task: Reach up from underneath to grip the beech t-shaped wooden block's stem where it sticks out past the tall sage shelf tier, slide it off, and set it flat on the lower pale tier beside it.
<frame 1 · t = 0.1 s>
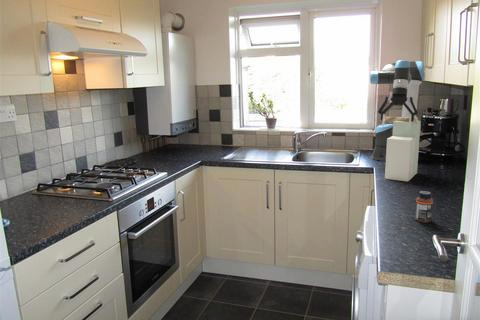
hand: (396, 126, 222), 28 cm above the worktop, tool tilted 20°, fingers open, 13 cm apart
supplement bottle: (423, 221, 158), on the worktop
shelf: (401, 175, 229), on the worktop
t-shaped wooden block: (407, 121, 227), point 30 cm above the worktop, touching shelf
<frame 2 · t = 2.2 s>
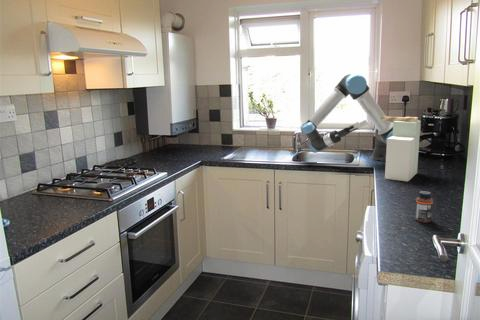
hand: (362, 122, 241), 28 cm above the worktop, tool pointing upward, fingers open, 13 cm apart
nothing on the worktop moved.
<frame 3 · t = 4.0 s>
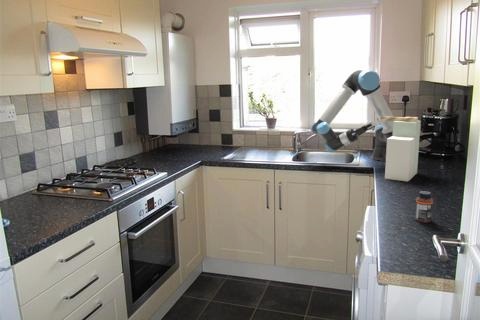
hand: (380, 120, 235), 30 cm above the worktop, tool pointing upward, fingers open, 13 cm apart
nothing on the worktop moved.
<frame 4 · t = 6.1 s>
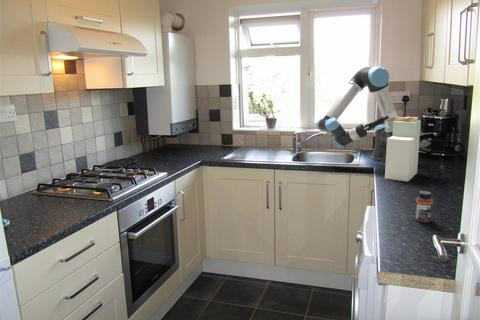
hand: (394, 114, 230), 34 cm above the worktop, tool pointing upward, fingers closed on t-shaped wooden block, 2 cm apart
t-shaped wooden block: (407, 121, 227), point 30 cm above the worktop, touching gripper, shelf
everything else where it was.
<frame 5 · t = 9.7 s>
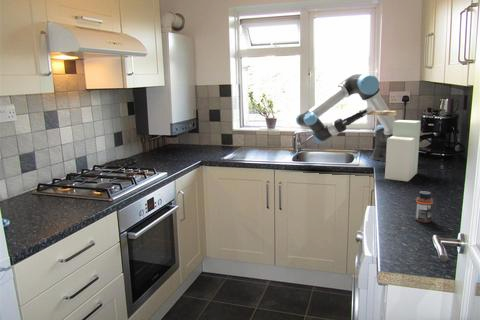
hand: (373, 107, 225), 38 cm above the worktop, tool pointing upward, fingers closed on t-shaped wooden block, 2 cm apart
t-shaped wooden block: (385, 115, 222), point 34 cm above the worktop, touching gripper
everything else where it was.
when the fingers open (27 cm above the worktop, at t = 13.3 s): t-shaped wooden block drops 2 cm, resting on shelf.
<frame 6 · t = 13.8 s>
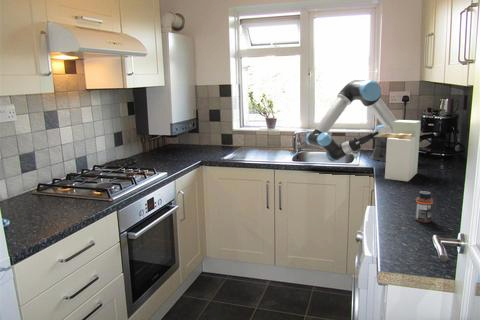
hand: (386, 128, 223), 27 cm above the worktop, tool pointing upward, fingers open, 10 cm apart
t-shaped wooden block: (401, 138, 220), point 22 cm above the worktop, touching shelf
everything else where it was.
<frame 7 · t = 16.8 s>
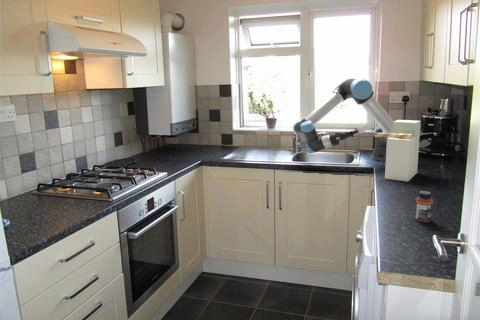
hand: (366, 128, 233), 26 cm above the worktop, tool pointing upward, fingers open, 13 cm apart
nothing on the worktop moved.
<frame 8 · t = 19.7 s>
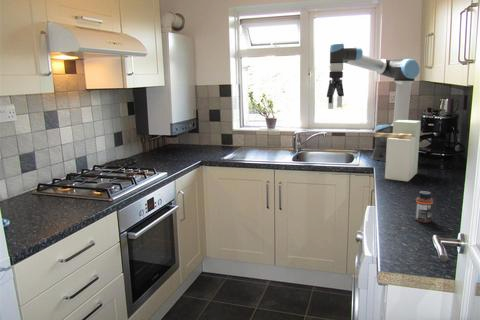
hand: (335, 108, 241), 37 cm above the worktop, tool pointing down, fingers open, 13 cm apart
nothing on the worktop moved.
at the end: t-shaped wooden block 0.3 cm from the target spot, point 22.0 cm above the worktop; t-shaped wooden block tilted 0°; the gripper is holding nothing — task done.
